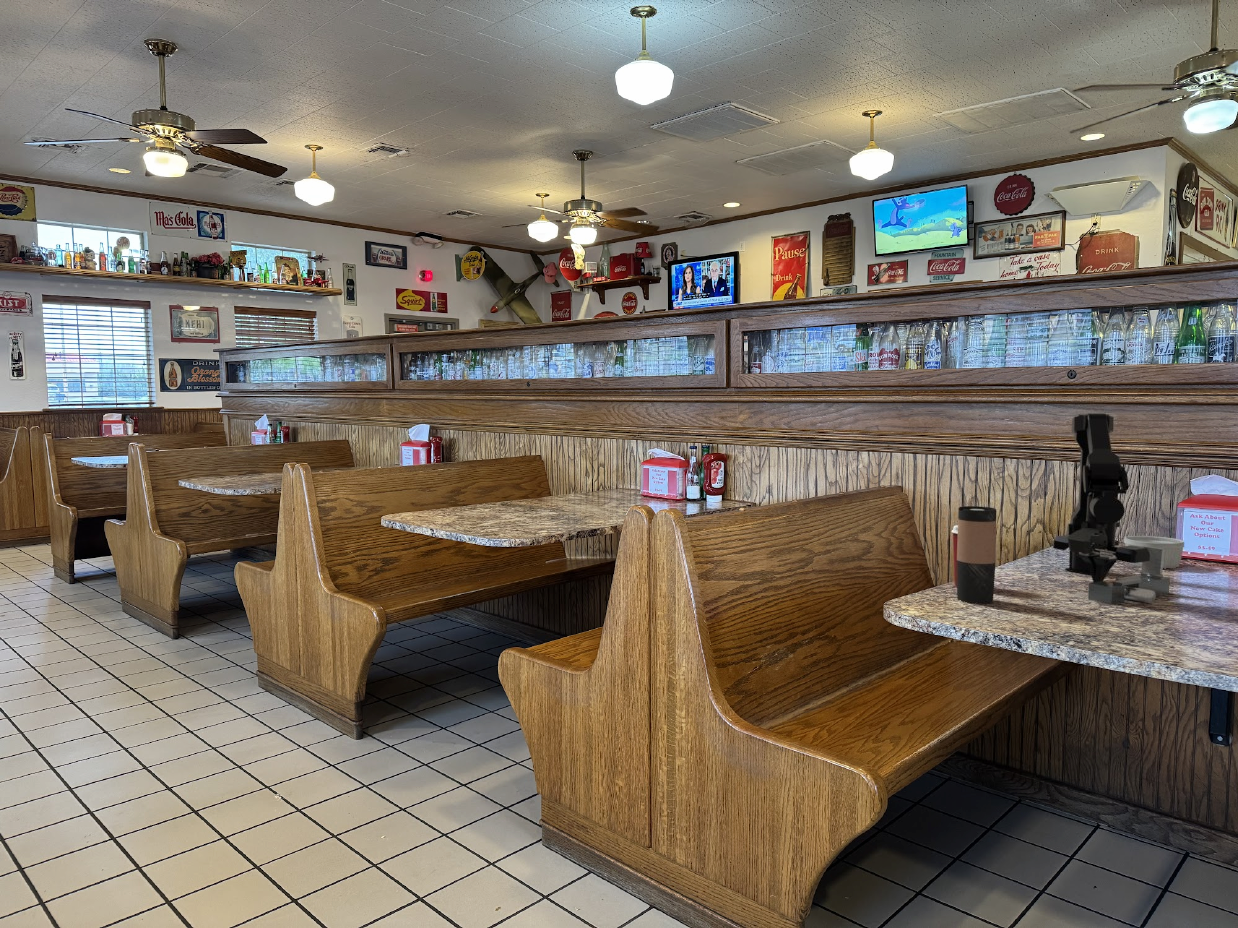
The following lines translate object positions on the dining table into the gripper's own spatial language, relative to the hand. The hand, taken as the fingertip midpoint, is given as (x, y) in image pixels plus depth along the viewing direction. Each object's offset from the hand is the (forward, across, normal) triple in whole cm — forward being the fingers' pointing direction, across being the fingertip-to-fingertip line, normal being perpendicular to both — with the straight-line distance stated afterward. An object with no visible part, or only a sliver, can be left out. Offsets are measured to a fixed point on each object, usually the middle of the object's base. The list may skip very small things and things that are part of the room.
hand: (1097, 586), depth 180 cm
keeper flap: (-3, +5, +12) cm, 13 cm away
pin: (+1, +6, +1) cm, 6 cm away
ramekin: (+2, -14, +45) cm, 47 cm away
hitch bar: (+2, +5, +4) cm, 6 cm away
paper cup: (+2, -18, -19) cm, 27 cm away
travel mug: (+2, -8, -29) cm, 30 cm away
